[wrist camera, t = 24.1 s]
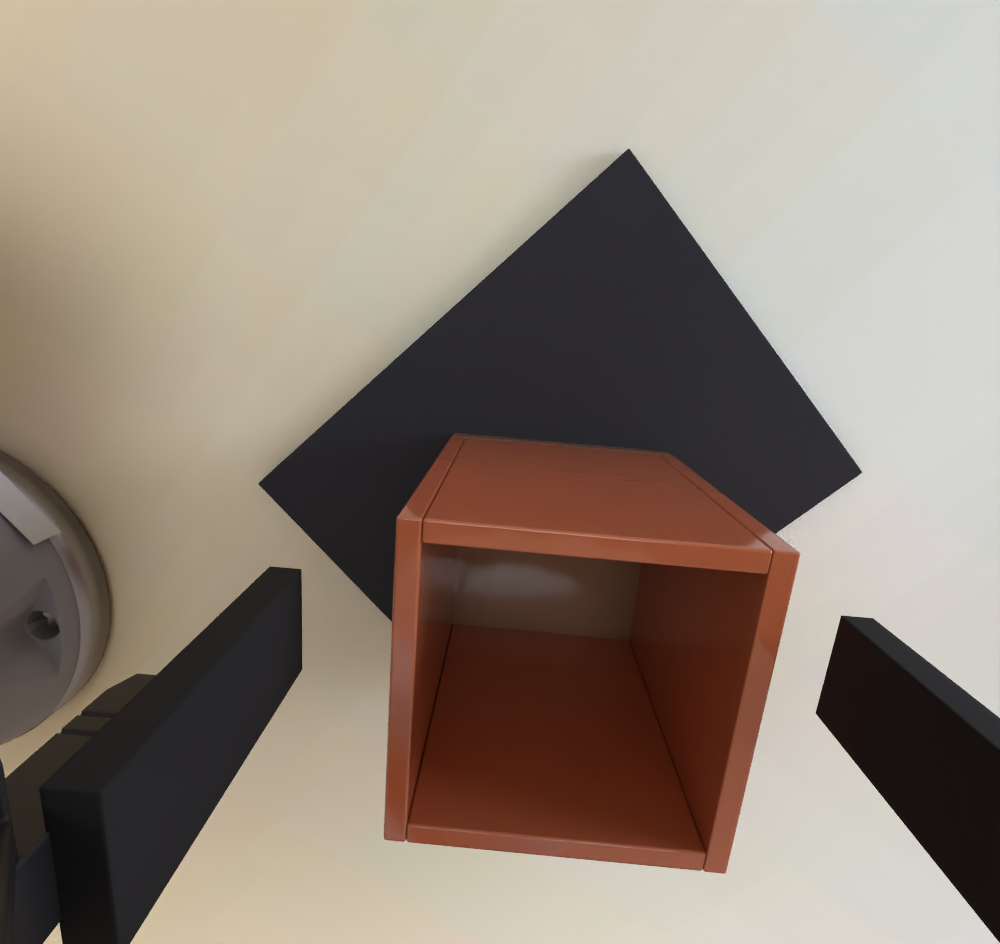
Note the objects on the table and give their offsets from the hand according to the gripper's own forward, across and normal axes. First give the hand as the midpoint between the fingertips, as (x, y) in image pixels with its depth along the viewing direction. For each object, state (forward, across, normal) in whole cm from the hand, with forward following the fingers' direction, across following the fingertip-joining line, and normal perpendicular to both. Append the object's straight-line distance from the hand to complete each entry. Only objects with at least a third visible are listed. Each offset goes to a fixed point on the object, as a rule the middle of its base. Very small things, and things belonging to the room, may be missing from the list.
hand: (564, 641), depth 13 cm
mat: (+11, 0, +1) cm, 11 cm away
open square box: (+5, 0, -6) cm, 8 cm away
